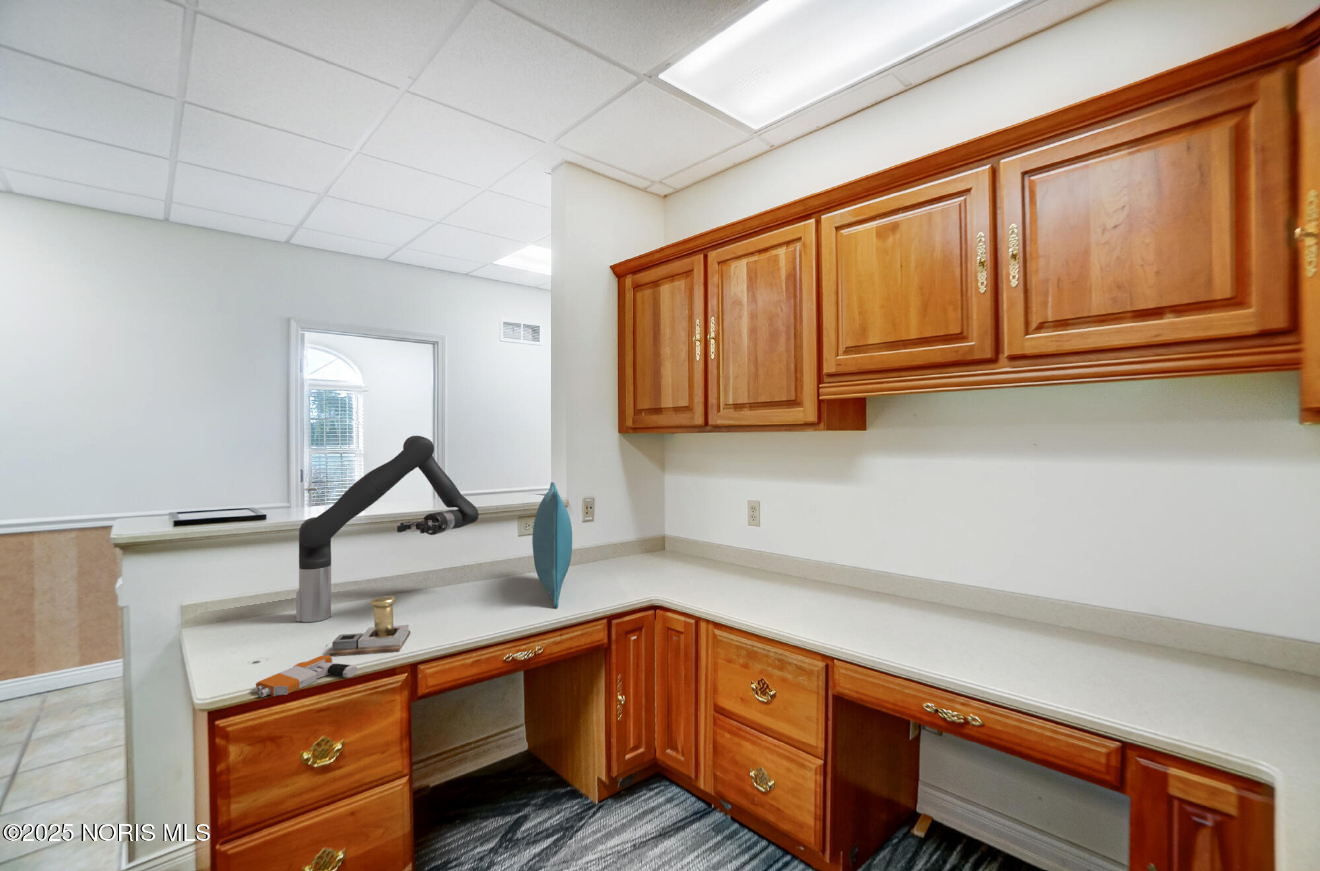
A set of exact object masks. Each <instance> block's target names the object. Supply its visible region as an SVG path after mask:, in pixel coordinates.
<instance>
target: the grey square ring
mask: <svg viewBox="0 0 1320 871" xmlns="http://www.w3.org/2000/svg"><path fill="white" fill-rule="evenodd" d="M363 634H364V633H363V632H359V633H344V634H343V633H342V634H338V636H337V637H336V638H335V639H334V640H333V641H332V642H331V643H332V648H331V650H332V651H340V650H354V649H357V648H358V640H359V639H360V638H361V636H362V635H363Z"/></svg>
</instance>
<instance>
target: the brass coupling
mask: <svg viewBox="0 0 1320 871" xmlns="http://www.w3.org/2000/svg"><path fill="white" fill-rule="evenodd" d="M395 603H396V597H395V596H393V595H391V596H389V595H388V596H386V595H385V596H380V597H379V596H378V597H375V598H373V599H371V600H370V606H371V607H373V616H374V617H373V622H374V623H373V624H374V626H373V627H375V637H380V636H394V626H395V624H394V604H395Z"/></svg>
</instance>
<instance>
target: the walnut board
mask: <svg viewBox="0 0 1320 871" xmlns="http://www.w3.org/2000/svg"><path fill="white" fill-rule="evenodd" d="M410 635H411V630H409V633H408V635H407V636H406V638H405V640H404V641H403V643H402V644H401V646H396V647H382V648H368V649H358V648H357V649H354V650H340V651H332V649H331V650H330V651H329V652H328V656H331V657H344V656H358V655H369V653H373V654H385V653H399V652H400V651H401V649H402V648H403V646H404V644H406V641H407V640H408V638H409V636H410Z"/></svg>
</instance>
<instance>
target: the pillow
mask: <svg viewBox="0 0 1320 871" xmlns="http://www.w3.org/2000/svg"><path fill="white" fill-rule="evenodd" d="M538 505H539V506H538V508H537V510H536V513H535V518H534V522H533V527H532V541H531V542H532V554H533V562H534V568H535V572H536V575H537V577H538V579H539V581H540V583H541V584H542V586H543V587H544V588H545V589H546V591H547V592H548V594H549V595H550V597H551V599H552V601H553V608H556V609H558V608H559V602H560V600H559V599H560V595H561V590H562V586H563V583H564V580H565V578H566V576H567V573H568V570H569V568H570V565H571V560H572V555H573V530H572V529H573V527H572V521H571V518H570V514H569V512H568V509H567V507H566V505H565V503H564V502H563V499H562V497H561V495H560V494H559V491H558V489H557V486H556V483H555V482H554V481H551V482H550V485H549V489H548V491H547V492H546V493H545V495H544V497H543V498H542V500H540V503H539V504H538Z"/></svg>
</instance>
